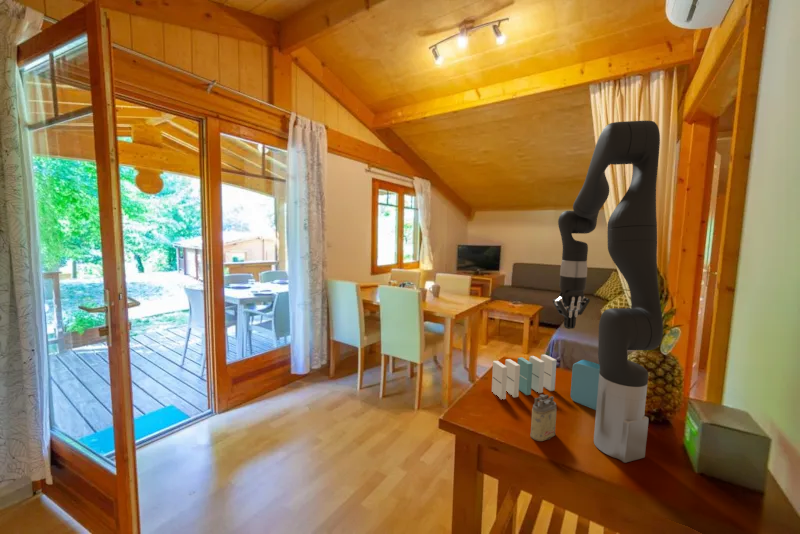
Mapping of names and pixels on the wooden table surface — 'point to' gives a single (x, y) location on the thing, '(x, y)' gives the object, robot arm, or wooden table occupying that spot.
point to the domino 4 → (537, 374)
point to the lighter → (543, 418)
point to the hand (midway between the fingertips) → (569, 327)
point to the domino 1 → (499, 379)
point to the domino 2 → (512, 377)
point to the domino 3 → (525, 376)
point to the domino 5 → (549, 372)
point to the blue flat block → (585, 383)
